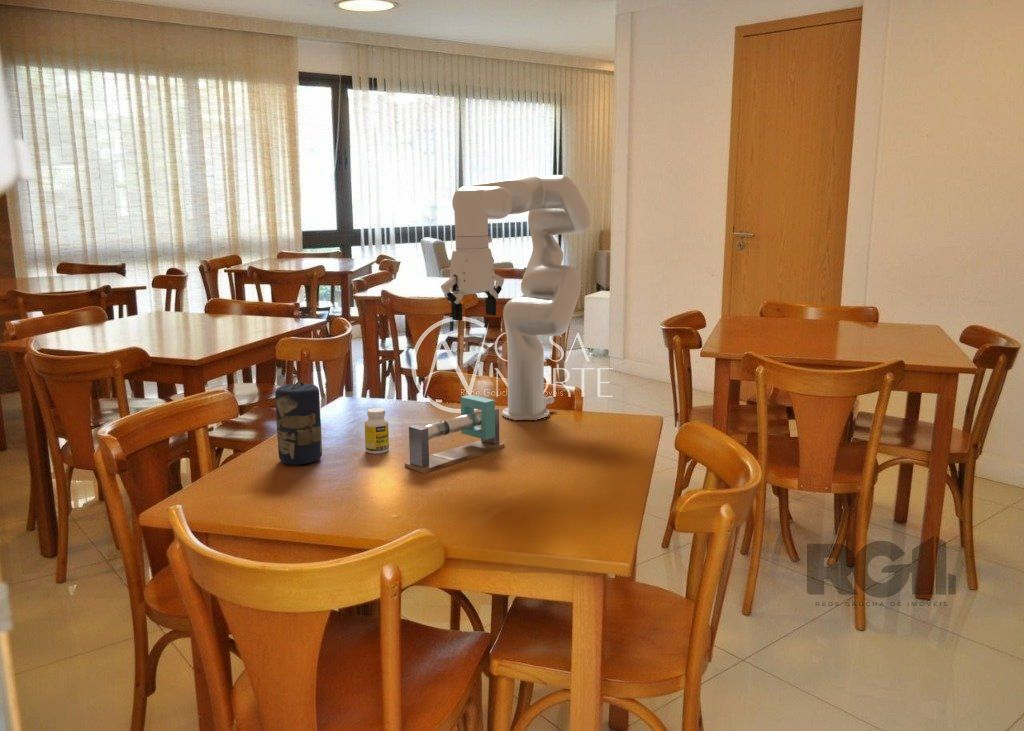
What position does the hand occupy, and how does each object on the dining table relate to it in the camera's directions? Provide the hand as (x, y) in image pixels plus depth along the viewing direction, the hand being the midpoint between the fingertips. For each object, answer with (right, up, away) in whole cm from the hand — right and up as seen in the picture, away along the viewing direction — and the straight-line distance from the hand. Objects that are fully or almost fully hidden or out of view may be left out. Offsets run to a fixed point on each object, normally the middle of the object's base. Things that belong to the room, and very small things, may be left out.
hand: (474, 317), depth 197 cm
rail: (-4, -32, -6) cm, 32 cm away
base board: (-4, -32, -6) cm, 32 cm away
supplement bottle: (-22, -31, -1) cm, 38 cm away
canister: (-38, -33, -8) cm, 51 cm away
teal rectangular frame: (+1, -27, -2) cm, 27 cm away
